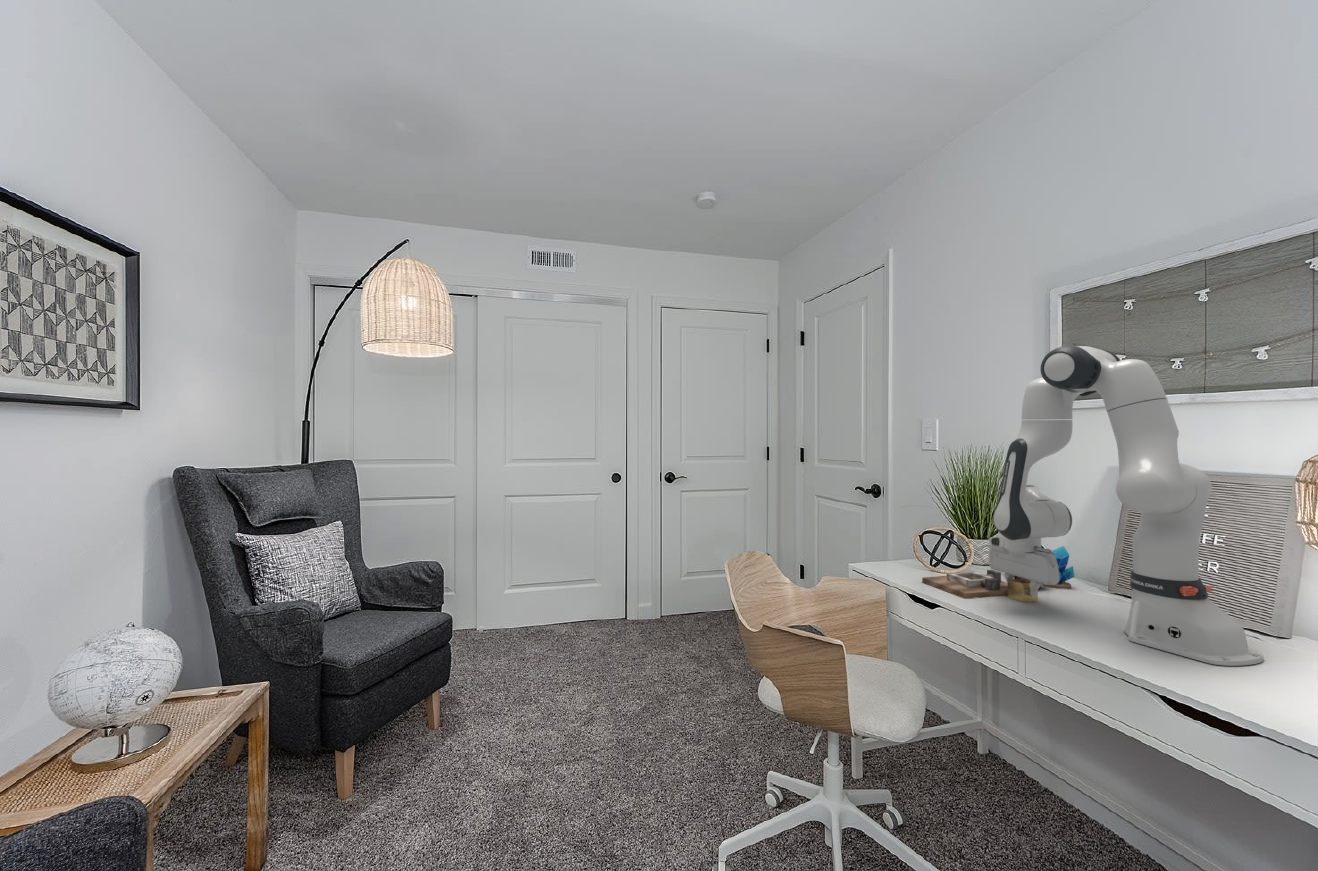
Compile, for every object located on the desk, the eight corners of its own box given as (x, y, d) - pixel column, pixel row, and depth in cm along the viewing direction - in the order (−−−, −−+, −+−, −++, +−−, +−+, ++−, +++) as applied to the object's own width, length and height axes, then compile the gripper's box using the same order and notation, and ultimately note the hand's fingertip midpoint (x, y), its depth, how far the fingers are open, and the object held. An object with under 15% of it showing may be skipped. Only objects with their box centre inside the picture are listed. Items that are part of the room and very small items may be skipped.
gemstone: (1056, 581, 177) (1056, 542, 177) (1078, 589, 168) (1078, 548, 168) (1033, 582, 176) (1033, 543, 176) (1054, 589, 168) (1054, 548, 168)
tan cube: (1037, 600, 157) (1037, 582, 157) (1022, 602, 156) (1022, 583, 156) (1022, 595, 162) (1022, 577, 162) (1007, 596, 161) (1007, 579, 161)
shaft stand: (1025, 593, 164) (1025, 577, 164) (965, 598, 160) (965, 582, 160) (977, 578, 182) (977, 564, 182) (922, 582, 177) (922, 567, 177)
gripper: (1065, 550, 149) (1065, 602, 150) (1002, 536, 169) (1002, 583, 169) (1045, 551, 148) (1045, 604, 148) (984, 537, 168) (984, 584, 168)
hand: (1022, 592), depth 159 cm, fingers closed on tan cube, 5 cm apart
